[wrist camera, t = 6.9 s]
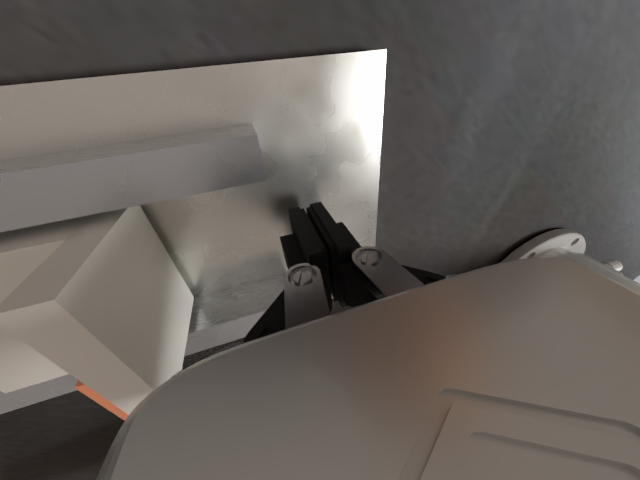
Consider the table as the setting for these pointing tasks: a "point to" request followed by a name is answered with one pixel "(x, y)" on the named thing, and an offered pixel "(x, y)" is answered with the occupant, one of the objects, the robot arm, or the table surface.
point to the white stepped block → (92, 307)
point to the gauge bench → (200, 170)
